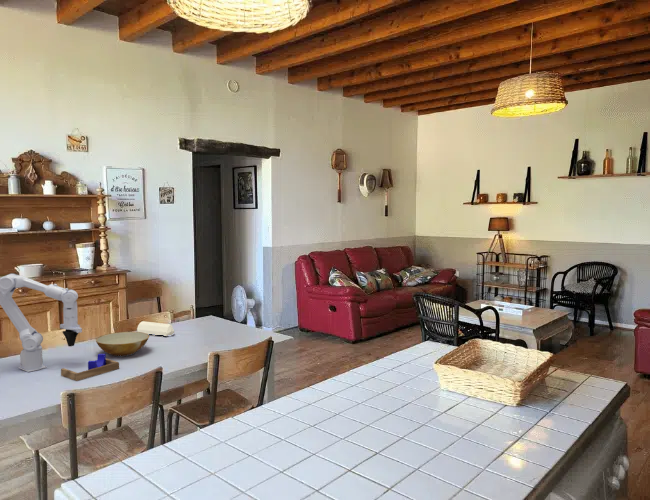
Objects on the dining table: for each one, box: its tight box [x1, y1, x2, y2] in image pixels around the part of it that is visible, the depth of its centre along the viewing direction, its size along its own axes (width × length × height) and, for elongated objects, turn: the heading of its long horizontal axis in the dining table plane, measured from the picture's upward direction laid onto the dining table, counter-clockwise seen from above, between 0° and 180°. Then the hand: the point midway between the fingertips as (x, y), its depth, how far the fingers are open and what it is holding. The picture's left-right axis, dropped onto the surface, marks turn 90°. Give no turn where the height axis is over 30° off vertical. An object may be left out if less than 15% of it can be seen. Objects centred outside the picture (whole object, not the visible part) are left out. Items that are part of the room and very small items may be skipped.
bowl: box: [95, 331, 150, 357], centre depth 245 cm, size 25×25×8 cm
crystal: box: [136, 320, 175, 336], centre depth 283 cm, size 7×7×24 cm
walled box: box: [60, 358, 120, 382], centre depth 216 cm, size 12×20×3 cm, turn 147°
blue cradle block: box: [87, 353, 107, 370], centre depth 218 cm, size 12×4×6 cm, turn 4°
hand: (71, 345), depth 223 cm, fingers closed
